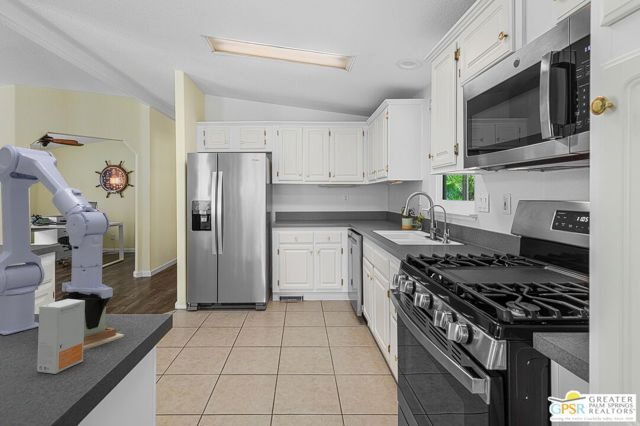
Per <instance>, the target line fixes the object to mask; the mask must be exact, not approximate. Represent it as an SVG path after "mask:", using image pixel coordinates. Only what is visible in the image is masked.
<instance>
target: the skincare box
mask: <svg viewBox="0 0 640 426" xmlns="http://www.w3.org/2000/svg"><path fill="white" fill-rule="evenodd" d="M38 308H39V309H38V323H39V327H38V336H37V367H36V371H37V372H38V373H44V374H52V375H53V374H54V375H57V374H58V373H60V372H63V371H65V370H66V369H69V368H71V367H73V366H76V365H78V364H79V363H82V362H84V351H83V344H84V315H85V300H74V299H66V300H58V301H54V302H50V303H47V304H42V305H40V306H39V307H38Z"/></svg>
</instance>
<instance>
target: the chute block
mask: <svg viewBox="0 0 640 426" xmlns="http://www.w3.org/2000/svg"><path fill="white" fill-rule="evenodd" d="M106 308H107V307H106V306H105V308H104V310H103V312H102V315H101V319H100V322H99V325H98V327H97V328H93V329H87V326H86V318H85V315H84V337H87V336H90V335H94V334H97V333H100V332H104V331H105V327H106V317H107V309H106Z"/></svg>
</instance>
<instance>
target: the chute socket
mask: <svg viewBox="0 0 640 426" xmlns="http://www.w3.org/2000/svg"><path fill="white" fill-rule="evenodd" d="M122 338H125V334H124V333H118V332H117V328H114V327H109V326H105V331H104V332H100V333H97V334H94V335H90V336H87V337H84V344H83V352H84V351H87V350H89V349H92V348H95V347H99V346H101V345H105V344H107V343H111V342H113V341H116V340H118V339H122Z"/></svg>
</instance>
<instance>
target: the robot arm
mask: <svg viewBox="0 0 640 426" xmlns="http://www.w3.org/2000/svg"><path fill="white" fill-rule="evenodd" d="M57 167H58V159H57V158H56V157H55V155H54V154H53V153H52V152H51V151H49V150H40V149H33V148H29V147H28V148H25V147H20V146H14V145H12V144H4V145H3V146H2V147H1V148H0V199H1V200H0V201H1V232H2V233H1V234H2V253H0V335H4V336H5V335H10V334H15V333H18V332H22V331H26V330H27V331H28V330H31V329H35V328H39V322H38V321H37V322H36V321H35V310H36V306H35V304H36V301H35V300H36V291H38V290H39V287H40V286H41V285H42V284H43V282H44V280H45V270H44V268H43V263H42V257H40V256H39V255H37V254H36V253H34V252H33V251H31V229H30V228H31V227H30V225H31V224H30V223H31V221H30V201H29V200H30V198H29V197H30V196H29V195H30V193H29V192H30V191H29V188H31V187H32V185H35V184H38V183H40V182H41V184H42V185H43V186H44V187H45V188H46V189H47V190H48V191H49V192H50V193H51V194H52V195H53V196H52V199H51V203H52V204H53V205H54V207H55V209H56V210H57V211H58V212H59V213H60V215H61V216H62V217H63V218H64V219H65V221H66V224H65V231H66V233H67V235H68V243H69V244H70V246H71V276H70V277H71V281H66V282H64V281H63V282H62V283H61V291H62V292H67V293H68V292H69V293H68V294H65V295H63V296H62V299H63V300H66V299H74V300H85V318H86V326H87V329H93V328H97V327H98V325H99V322H100V319H101V315H102V312H103V310H104V308H105V307H106V306H107V304H108V302H109V301H110V300H111V298H112V297H114V296H113V293H114V289H113V287H110V286H108V285H106V284H103V247H104V246H103V245H104V241H103V238H104V236H105V235H106V234H107V233H108V231H109V230H110V219H109V217H108V216H107V214H106V212H104V211H102V210H98V209H97V208H96V209H95V208H93V206H92V205H91V204H90V203H89V201H88V200H87V199H86V197H84V195H83V194H82V193H83V192H82V191H81V190H80V189H77V188H76V187H75V188H74V187H70V186H69V185H68V183H67V182H66V180H65V179H64V178H63V175H62V174H61V173H60V171H59V170H58V169H57ZM14 264H15V265H14Z"/></svg>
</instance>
